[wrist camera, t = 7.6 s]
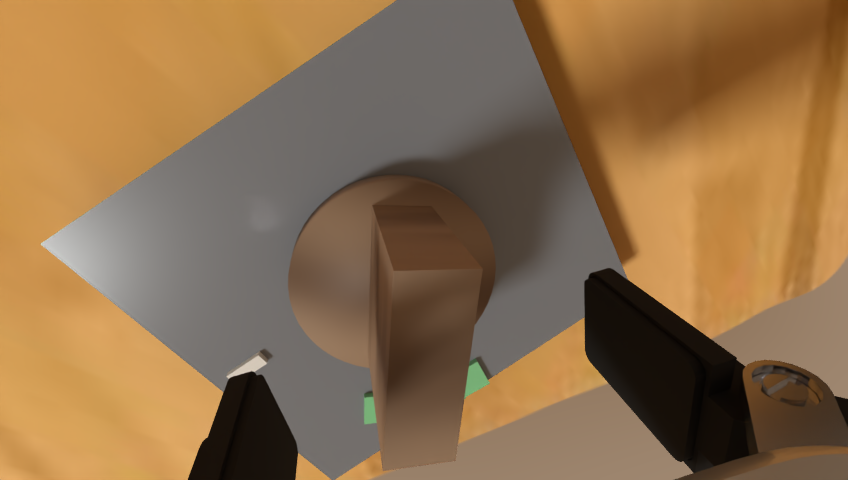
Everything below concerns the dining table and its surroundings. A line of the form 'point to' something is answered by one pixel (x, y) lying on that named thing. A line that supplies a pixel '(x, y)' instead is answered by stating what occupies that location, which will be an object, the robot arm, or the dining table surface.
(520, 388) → the dining table surface
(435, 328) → the tuning knob
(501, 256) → the tuner plate
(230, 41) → the dining table surface
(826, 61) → the dining table surface
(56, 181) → the dining table surface
